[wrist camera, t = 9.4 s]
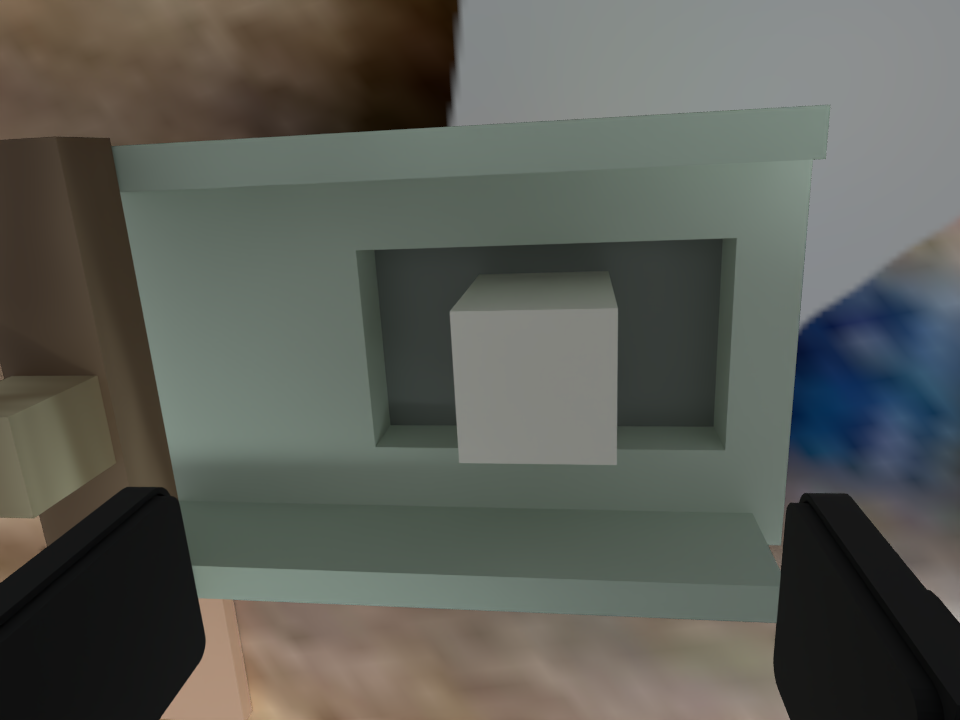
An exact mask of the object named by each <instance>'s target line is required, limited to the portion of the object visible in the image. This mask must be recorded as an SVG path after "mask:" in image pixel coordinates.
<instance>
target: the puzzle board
mask: <svg viewBox="0 0 960 720" xmlns="http://www.w3.org/2000/svg"><path fill="white" fill-rule="evenodd" d="M829 115H830V105H816V106H799V107H782V108H765V109H748V110H730V111H713V112H697V113H678V114H662V115H645V116H626V117H609V118H593V119H575V120H557V121H540V122H524V123H506V124H489V125H471V126H453V127H436V128H419V129H402V130H384V131H367V132H350V133H333V134H315V135H298V136H281V137H263V138H246V139H229V140H212V141H194V142H177V143H160V144H143V145H125V146H111V148H112V153H113V158H114V163H115V169H116V174H117V179H118V184H119V190H120V195H121V200H122V206H123V211H124V216H125V221H126V227H127V232H128V237H129V242H130V248H131V253H132V258H133V263H134V269H135V274H136V279H137V284H138V290H139V295H140V300H141V305H142V311H143V316H144V321H145V326H146V332H147V337H148V342H149V347H150V353H151V358H152V363H153V368H154V374H155V379H156V384H157V389H158V395H159V400H160V405H161V410H162V416H163V421H164V426H165V432H166V437H167V442H168V447H169V453H170V458H171V463H172V468H173V474H174V479H175V484H176V489H177V495H178V500H179V504H180V508H181V513H182V518H183V523H184V528H185V533H186V538H187V544H188V549H189V554H190V559H191V564H192V569H193V574H194V580H195V585H196V590H197V595H198V598H205V599H229V600H252V601H275V602H298V603H322V604H345V605H368V606H392V607H415V608H438V609H462V610H485V611H508V612H532V613H555V614H578V615H602V616H625V617H648V618H672V619H695V620H718V621H742V622H765V623H777V612H778V600H779V588H780V577H781V571H780V569H779V567H778V565H777V563H776V561H775V559H774V557H773V555H772V553H771V551H770V548H769V546H768V545H781V538H782V526H783V514H784V502H785V490H786V478H787V466H788V454H789V442H790V430H791V417H792V405H793V393H794V381H795V369H796V357H797V345H798V333H799V321H800V308H801V296H802V284H803V272H804V260H805V248H806V235H807V223H808V211H809V199H810V187H811V175H812V163H813V160H815V159H826V150H827V138H828V127H829ZM591 271H608V272H609V275H610V279H611V283H612V287H613V291H614V295H615V299H616V303H617V307H618V367H617V465H574V464H493V463H459V453H458V437H457V421H456V405H455V389H454V373H453V357H452V342H451V326H450V310H451V309H452V308H453V307H454V305H455V304H456V303H457V302H458V300H459V299H460V298H461V297H462V295H463V294H464V293H465V292H466V291H467V289H468V288H469V287H470V286H471V284H472V283H473V282H474V281H475V279H476V278H477V277H478V276H479V274H516V273H554V272H591Z"/></svg>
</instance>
